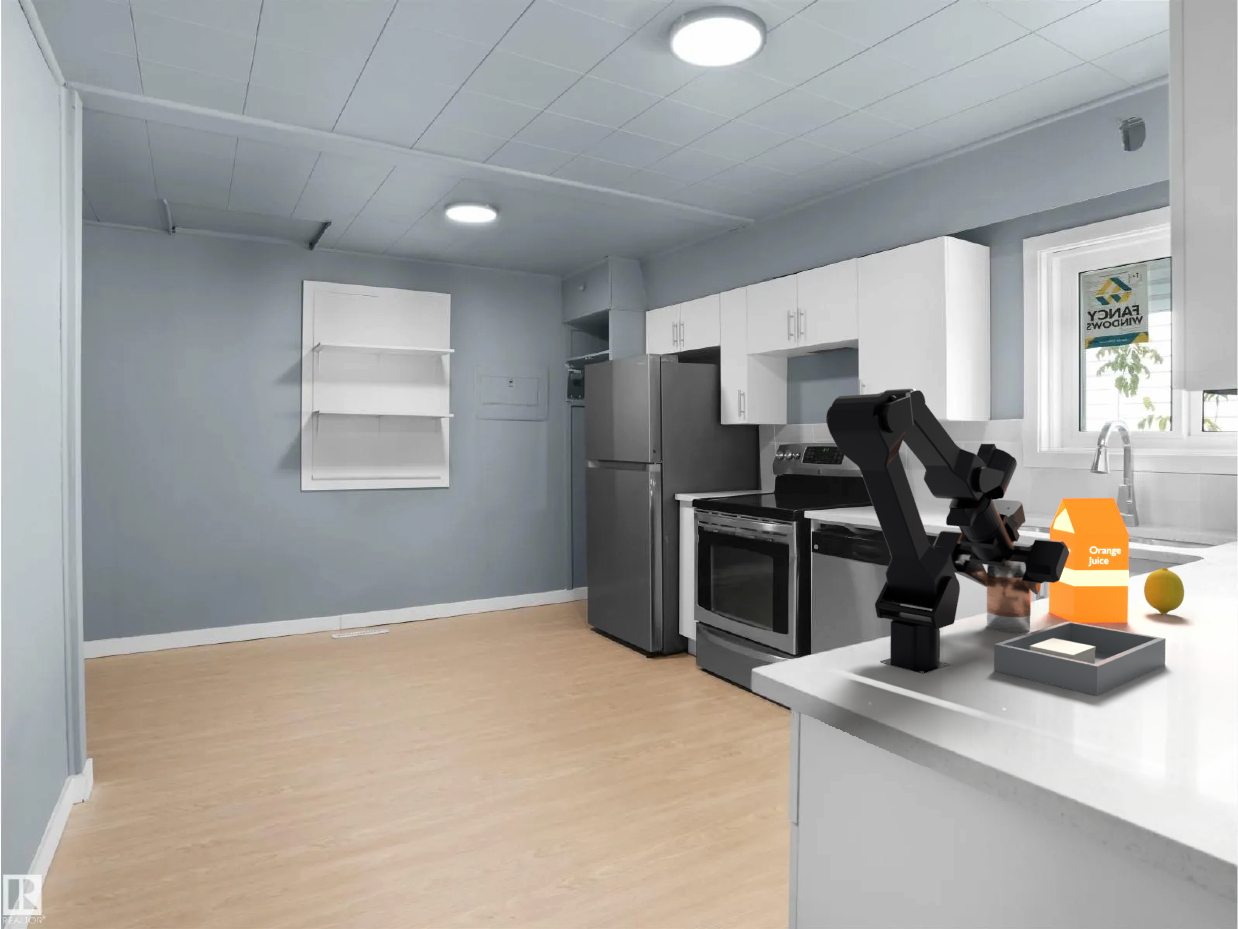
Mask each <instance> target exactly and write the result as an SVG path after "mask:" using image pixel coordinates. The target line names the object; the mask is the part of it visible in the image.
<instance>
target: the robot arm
mask: <svg viewBox="0 0 1238 929" xmlns="http://www.w3.org/2000/svg"><path fill="white" fill-rule="evenodd" d="M826 412H827V413H826V416H825V417H826V420H825V422H826V426H827V428H828V432H829V434H830V436H831V438H832V440H833V442H834V443H835V445H836V446H837V449H838V450H839V452H840V453H841V454H843V455H844V456H845V457H846V458H847V459H849V460H850V461H851V462H852V463H854V465H855V466H857V467H858V469H859V471H860V474H861V477H862V479H863V482H864V484H865V487H866V490H867V493H868V495H869V498H870V499H869V500H870V501H871V504H872V507H873V509H874V512H875V514H876V518H877V520H878V523H879V525H880V529H881V532H882V534H883V538H884V539H885V542H886V545H887V547H888V550H889V553H890V557H891V558H890V561H889V563H888V566H887V568H886V570H885V578H886V580H885V583H884V585H883V587H882V589H881V591H880V593H879V595H878V597H877V599H876V601H875V603H874V608H875V613H876V617H877V618H879V619H887V620H891V621H890V646H889V647H890V651H889V652H890V655H889V656H890V657H889V658H886V659H883V660H880V663H882V664H885V665H889V666H893V667H896V668H899V669H900V668H901V669H904V670H908V671H912V672H914V673H919V674H926V673H930V672H934V671H937V670H939V669H943V668H945V667H946V668H947V667H949V666H951V664H950V663H948V662H944V661H940V657H941V656H940V655H941V654H940V652H941V641H940V640H941V630H940V629H942V628H945V627H949V626H951V625H954V624H955V620H956V614H957V609H958V603H959V598H960V597H959V596H960V591H961V587H960V581H959V579H958V577H957V575H960V576H961V577H964V578H967V579H969V580H971V581H972V582H975V583H977V584H979V585H980V586H983V587H985V588H987V569H986V568H985V567H984V565H994V566H1002V567H1004V565H1005V563H1006V561H1015V562H1024V564H1025V566H1026V571H1025V573H1024V576H1023V578H1022V581H1023V582H1024V583H1025V584H1026V585H1027V586H1028V588H1029V589H1030V590H1031V592H1032V593H1033V594H1035V595H1039V593H1040V589H1041V584H1043V583H1049V582H1051V583H1055V582H1057V581H1059V580H1060V578H1061V575H1062V572H1063V569H1064V567H1065V564H1066V561H1067V558H1068V556H1069V553H1070V552H1069V550H1068V548H1067V545H1066V544H1065V543H1064V542H1063V541H1055V540H1050V539H1043V538H1038V539H1037V538H1036V539H1034V540H1033V541H1034V542H1033V544H1031V545H1030V546H1024V545H1014V543H1016V542H1017V543H1018V541H1019V538H1020V537H1021V535H1020V533H1019V531H1018V530H1019V529H1020V528H1021V526H1022V525H1023V524H1025V523H1026V516H1025V511H1024V506H1023V503H1022V501H1020V500H1009V499H1008V500H1007V499H1003V498H1005V497H1004V496H1005V494H1006V492H1007V489H1008V487H1009V485H1010V483H1011V480H1012V478H1013V476H1014V474H1015V471H1016V468H1017V466H1018V463H1017V460H1016V458H1015V457H1014V456H1012V455H1011V454H1010V453H1009V452H1007V451H1005V450H1002V449H999V448H997V446H996V444H995V443H981V444H980V446H979V448H978V450H977V452H976V453H974V452H972V451H970V450H967V449H964V448H962V447H960V446H958V445H957V444H956V443H955V441H954V440H953V439H952V437H951V436H950V435H949V434H948V432H947V431H946V429H945V428H944V427H943V425H942V424H941V422H940V421H939V420H938V418H936V416H935V415H934V413H933V411H931V409H930V408H929V406H928V405H927V403H926V397H925V395H924V393H923V392H922V391H921V390H917V389H916V388H899V389H897V388H896V389H886V390H884V391H883V392H879V393H869V394H849V395H839V396H837V398H835V399H834V401H833V402H832V404H831V406H829V408H828V409H827V411H826ZM903 442H904V443H905V445H906V446H907V447H908V448H909V449H910V451H911V452H912V453H913V454H914V456H915V457H916V458H917V459H918V460H919V462H920V463H921V464H922V466H923V467H924V470H925V471H924V475H923V481H924V482H925V485H926V487H927V488H928V489H929V491H930V493H931V494H932V496H933V498H936V499H945V500H946V499H947V500H948V499H949V500H951V501H950V503H949V505H948V508H949V511H948V513H947V516H946V520H945V524H946V526H949V527H958V528H959V530H960V531H956V530H955V531H954V530H941V531H940V532H939V533H938V534H937V536H936V538H935V541H934V543H933V544H932V545H931V544H930V541H929V539H928V535H927V533H926V529H925V526H924V524H923V520H922V518H921V515H920V512H919V509H918V506H917V502H916V500H915V497H914V494H913V491H912V489H911V484H910V483H909V479H908V477H907V474H906V470H905V467H904V464H903V461H902V459H901V455H900V449H901V446H902V443H903Z"/></svg>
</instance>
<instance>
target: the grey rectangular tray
mask: <svg viewBox="0 0 1238 929" xmlns="http://www.w3.org/2000/svg"><path fill="white" fill-rule="evenodd" d="M1052 638H1055V639H1060V640H1065V641H1070V642H1075V643H1080V644H1085V645H1090V646H1095V647H1096V650H1095V663H1094V664H1091V663H1087V662H1082V661H1078V660H1073V659H1068V658H1064V657H1059V656H1054V655H1050V654H1045V653H1040V652H1036V651H1031V650H1030V646H1031V645H1034V644H1037V643H1040V642H1043V641H1046V640H1049V639H1052ZM1166 641H1167V640H1166V638H1164V637H1158V636H1154V635H1149V634H1142V633H1135V632H1131V631H1124V630H1119V629H1115V628H1108V627H1102V626H1098V625H1091V624H1086V623H1082V622H1079V623H1075V622H1071V621H1069V620H1067V621H1064V622H1060V623H1058V624H1055V625H1051V626H1048V627H1045V628H1041V629H1038V630H1035V631H1032V632H1027V633H1024V634H1023V635H1019V636H1017V637H1012V638H1009V639H1006V640H1004V641H1000V642H997V643H994V646H993V647H994V648H993V650H994V651H993V652H994V653H993V654H994V657H993V658H994V660H993V661H994V662H993V664H994V665H993V666H994V668H993V672H997V673H1001V674H1006V675H1008V676H1012V677H1013V676H1014V677H1017V678H1021V679H1026V680H1030V681H1033V682H1036V683H1037V682H1038V683H1042V684H1046V685H1050V686H1054V687H1058V688H1062V689H1067V690H1069V691H1074V692H1078V693H1083V694H1086V695H1091V696H1095V697H1098V696H1100V695H1103V694H1105V693H1108V692H1109V691H1111V690H1113V689H1115V688H1118V687H1120V686H1122V685H1124V684H1126V683H1129V682H1131V681H1133V680H1136V679H1138V678H1140V677H1142V676H1144V675H1146V674H1149V673H1151V672H1153V671H1155V670H1157V669H1159V668H1161V667H1164V666H1166Z"/></svg>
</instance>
